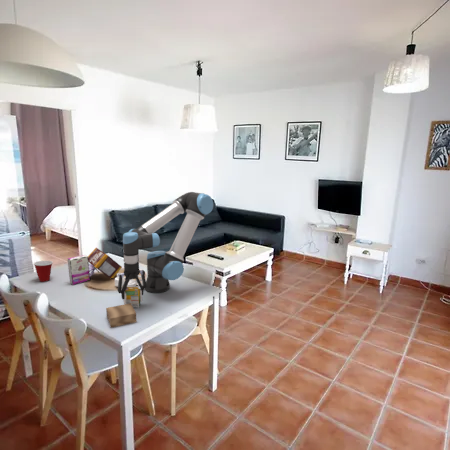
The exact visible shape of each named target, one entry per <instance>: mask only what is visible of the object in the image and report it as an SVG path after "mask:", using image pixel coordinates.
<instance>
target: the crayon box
mask: <svg viewBox="0 0 450 450" xmlns="http://www.w3.org/2000/svg"><path fill="white" fill-rule="evenodd" d="M125 293H126V303H127V304H129V303H131V305H132V306H133V308H140V307H141V302H140V287H139V286H136V287H127V288H126V290H125Z"/></svg>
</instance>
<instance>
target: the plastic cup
mask: <svg viewBox="0 0 450 450" xmlns="http://www.w3.org/2000/svg"><path fill="white" fill-rule="evenodd" d="M32 263H33V265H34V268H35V271H36V274H37V278H38V280H39V282H41V283H44V282H48V281H50V280H51V279H50V278H51V274H52V265H53V263H54V261H52V260H39V261H34V262H32Z"/></svg>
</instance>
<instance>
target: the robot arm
mask: <svg viewBox="0 0 450 450" xmlns="http://www.w3.org/2000/svg"><path fill="white" fill-rule="evenodd" d="M213 209H214V202H213V199H212V197H211V196H210V195H209V194H205V193H203V192H196V191H195V192H194V191H190V192H186V193H184V194H182V195H180V196H178V197H177V198H175V199H174V200H173V201H172V204H170V205H169V206H166V208H164V209H163V210H161V211H160V212H159V213H156V215H154V216H153V217H152V218H150V219H149V220H147V221H146V222H145V223H143V224H141V225H140V226H139V227H137V228H131V229H130V230H128V232H125V233H123V235H122V245H123V247H122V249H123V269H124V270H123V272H121V273H122V274H118V273H117V274H118V276H119V282H118V286H117V292H118V294H121V295H120V296H121V299H122V300H123V305H124V304H127V303H126V293H125V290H126V288H127V285H128V282H129V281H130V280H132V279H133V280H136V281H137V283H138V285H139V286H138V288H140V303H142V302H143V297H142V296H144V291H146V292H147V293H148V292H149V293H151V294H159V293H164V292H167V291H168V290H169V289H170V287H171V285H170V284H171V283H170V281H176V280H178V279H179V278H181V276H183V273H184V270H185V269H184V261H185V259H184V256H185V253H186V251H187V249H188V247H189V245H190V243H191V241H192V238H193V237H194V234H195V232H196V230H197V228H198V226H199V224H200V222H201V221H202V220H204V219H205V216H206V215H209V214H210V213H211V212H212V211H213ZM184 213H186V215H185V218H184V220H183V221H182V224H181V226H180V228H179V229H178V232H177V234H176V237H175V239H174V240H173V243H172V245H171V246H170V249H169V250H168V251H165V250H155V251H154V250H153V251H150V252H148V253H147V254H146V270H147V271H145V270H144V269H141V270H140V262H139V261H140V258H139V257H140V255H139V252H140V250H146V249H151V248H155V247H158V246H160V243H161V238H160V236H159V234H158V233H156V232H157V231H158V230H159V229H161V228H163V227H164V226H165V225H166V224H168V223H169V222H171V221H172V220H173V219H174V218H176V217H178V216H179V215H180V214H181V215H183V214H184ZM146 272H147V277H146ZM124 275H125V276H124ZM138 275H140V276H141V277H142V278H141V279H142V281H140V280H139V279H140V277H138ZM123 277H125V279H124V281H125V282H124V285H123V287H122V278H123ZM142 282H143V286H142ZM144 289H145V290H144Z"/></svg>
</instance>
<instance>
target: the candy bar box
mask: <svg viewBox="0 0 450 450" xmlns="http://www.w3.org/2000/svg"><path fill="white" fill-rule="evenodd" d="M88 256H89V255H86V254H84V255H83V254H82V255H78V256H72V257H68V258H67V267H68V275H69V283H70V284H71V285H72V286H75V285H78V284H81V283H85V282H88V281H87V280H90V281H91V277H90V273H91V272H89V264H90V263H89V262H88Z"/></svg>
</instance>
